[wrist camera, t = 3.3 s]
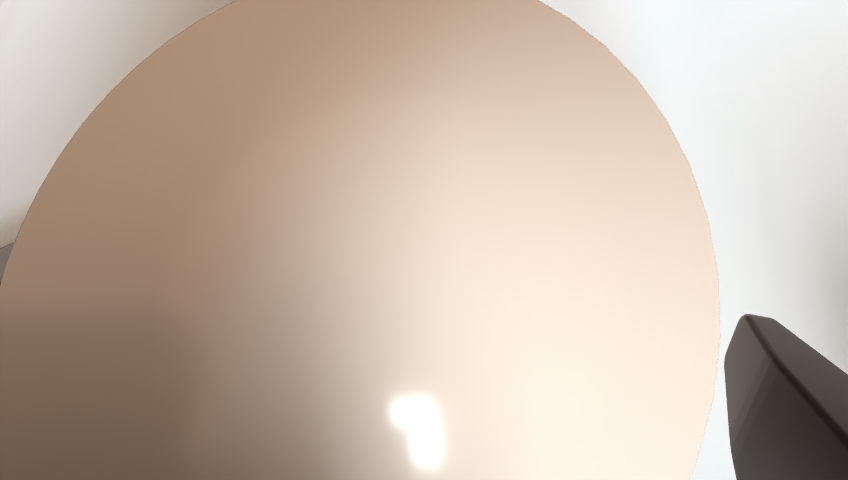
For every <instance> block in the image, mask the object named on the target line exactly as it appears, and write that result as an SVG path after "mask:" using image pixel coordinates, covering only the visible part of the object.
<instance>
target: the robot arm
mask: <svg viewBox="0 0 848 480" xmlns="http://www.w3.org/2000/svg"><path fill="white" fill-rule="evenodd" d="M0 285H1V282H0ZM724 370H725V383H726V397H727V410H728V423H729V436H730V446H731V453H732V459H733V464H734V469H735V474H736V478H737V480H848V374H846V373H845V372H844V371H842V370H841V369H840V368H838V367H837V366H836V365H834V364H833V363H832V362H830V361H829V360H828V359H826V358H825V357H824V356H822V355H821V354H820V353H818V352H817V351H816V350H814V349H813V348H812V347H810V346H809V345H808V344H806V343H805V342H804V341H802V340H801V339H800V338H798V337H797V336H796V335H794V334H793V333H792V332H790V331H789V330H788V329H786V328H785V327H784V326H782V325H781V324H780V323H778V322H777V321H776V320H774V319H772V318H768V317H762V316H757V315H751V314H745V315H743V316H742V317H741V318H740V320H739V322H738V324H737V326H736V329H735V331H734V334H733V336H732V339H731V341H730V344H729V347H728V349H727V352H726V355H725V361H724Z"/></svg>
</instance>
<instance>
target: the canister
mask: <svg viewBox="0 0 848 480" xmlns="http://www.w3.org/2000/svg"><path fill="white" fill-rule="evenodd" d="M720 336H721V335H720V307H719V279H718V270H717V264H716V259H715V254H714V248H713V243H712V237H711V232H710V227H709V221H708V216H707V213H706V210H705V208H704V205H703V202H702V199H701V196H700V193H699V190H698V187H697V184H696V181H695V179H694V176H693V173H692V170H691V167H690V164H689V162H688V160H687V158H686V157H685V155H684V153H683V151H682V149H681V147H680V145H679V143H678V141H677V139H676V137H675V135H674V133H673V132H672V130H671V128H670V126H669V124H668V122H667V120H666V118H665V117H664V115H663V114H662V113H661V111H660V110H659V109H658V107H657V106H656V104H655V103H654V102H653V100H652V99H651V97H650V96H649V95H648V93H647V92H646V91H645V89H644V88H643V86H642V85H641V84H640V82H639V81H638V79H637V78H636V77H635V76H634V75H633V74H632V73H631V72H630V71H629V70H628V69H627V68H626V67H625V66H624V65H623V64H622V63H621V62H620V61H619V60H618V59H617V58H616V57H615V56H614V55H613V54H612V53H611V52H610V51H609V49H608V48H607V47H606V46H605V45H603V44H602V43H601V42H599V41H598V40H597V39H596V38H594V37H593V36H592V35H590V34H589V33H588V32H587V31H585V30H584V29H583V28H581V27H580V26H579V25H577V24H576V23H575V22H574V21H572V20H571V19H570V18H568V17H566V16H565V15H563V14H561V13H559V12H558V11H556V10H554V9H552V8H551V7H549V6H547V5H545V4H544V3H542V2H540V1H538V0H237V1H235V2H232V3H231V4H229V5H227V6H225V7H223V8H221V9H219V10H218V11H216V12H214V13H212V14H210V15H208V16H207V17H205V18H203V19H201V20H199V21H198V22H196V23H195V24H193V25H192V26H190V27H189V28H187V29H186V30H184V31H183V32H181V33H180V34H178V35H177V36H175V37H174V38H172V39H171V40H169V41H168V42H166V43H165V44H164V45H163V46H161V47H160V48H159V49H158V50H156V51H155V52H154V53H153V54H151V55H150V56H149V57H148V58H146V59H145V60H144V61H143V62H142V63H140V64H139V65H138V66H137V67H136V68H135V69H134V70H133V71H131V72H130V73H129V74H128V75H127V76H126V77H125V78H124V79H123V80H122V81H121V82H120V83H119V84H118V85H117V86H116V87H115V88H114V89H113V90H112V91H111V92H110V93H109V94H108V95H107V96H106V97H105V98H104V100H103V101H102V102H101V103H100V104H99V105H98V106H97V108H96V109H95V110H94V111H93V112H92V113H91V114H90V116H89V117H88V118H87V119H86V120H85V121H84V122H83V124H82V125H81V127H80V128H79V129H78V131H77V132H76V133H75V135H74V136H73V138H72V139H71V140H70V142H69V143H68V144H67V146H66V147H65V149H64V150H63V151H62V153H61V154H60V156H59V157H58V159H57V160H56V162H55V164H54V165H53V167H52V169H51V170H50V172H49V174H48V175H47V177H46V179H45V180H44V182H43V184H42V185H41V187H40V189H39V190H38V193H37V195H36V197H35V199H34V201H33V203H32V205H31V207H30V209H29V211H28V213H27V215H26V217H25V219H24V221H23V223H22V225H21V228H20V230H19V233H18V235H17V238H16V241H15V243H14V246H13V248H12V251H11V254H10V256H9V259H8V262H7V264H6V267H5V271H4V274H3V278H2V282H1V285H0V480H690V478H691V475H692V473H693V471H694V469H695V466H696V463H697V459H698V455H699V452H700V448H701V444H702V441H703V437H704V433H705V429H706V426H707V422H708V418H709V414H710V411H711V407H712V403H713V398H714V389H715V380H716V372H717V363H718V354H719V345H720Z"/></svg>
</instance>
